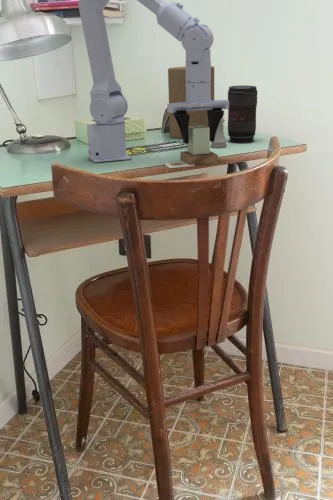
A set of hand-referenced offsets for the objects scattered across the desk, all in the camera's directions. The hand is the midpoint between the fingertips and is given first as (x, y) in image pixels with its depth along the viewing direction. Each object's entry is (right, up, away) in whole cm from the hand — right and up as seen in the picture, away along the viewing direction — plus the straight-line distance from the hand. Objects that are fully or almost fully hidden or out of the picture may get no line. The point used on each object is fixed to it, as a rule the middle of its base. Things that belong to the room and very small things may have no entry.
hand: (198, 142), depth 128 cm
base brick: (0, -4, +2) cm, 5 cm away
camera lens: (+14, +5, +26) cm, 30 cm away
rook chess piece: (+7, +2, +19) cm, 20 cm away
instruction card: (-5, -6, -1) cm, 7 cm away
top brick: (0, -2, +1) cm, 3 cm away
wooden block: (0, +9, +36) cm, 37 cm away
